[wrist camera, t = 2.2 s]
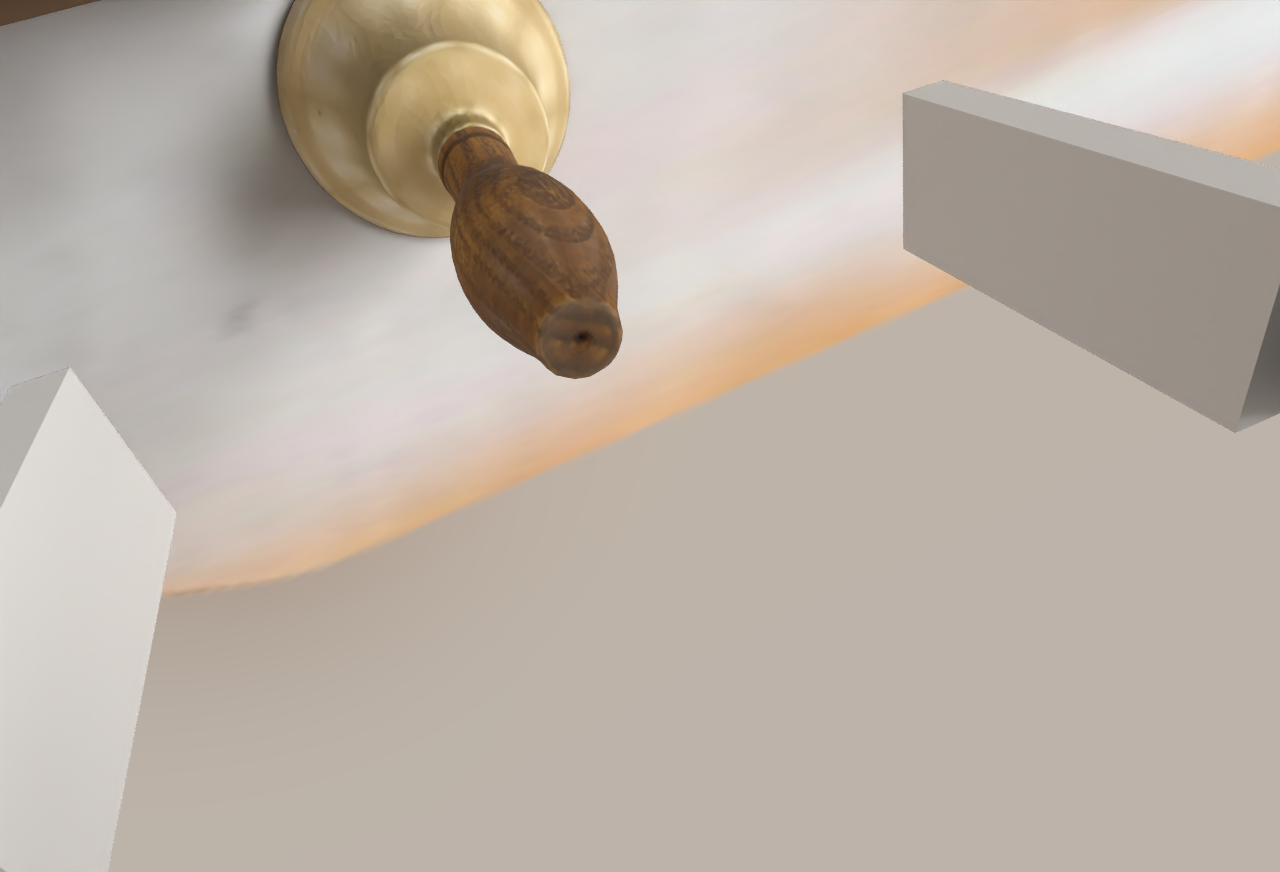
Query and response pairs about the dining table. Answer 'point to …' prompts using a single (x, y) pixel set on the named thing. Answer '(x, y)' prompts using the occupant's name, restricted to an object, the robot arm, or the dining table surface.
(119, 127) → the dining table surface
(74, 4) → the bottom block
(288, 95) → the hand bell
